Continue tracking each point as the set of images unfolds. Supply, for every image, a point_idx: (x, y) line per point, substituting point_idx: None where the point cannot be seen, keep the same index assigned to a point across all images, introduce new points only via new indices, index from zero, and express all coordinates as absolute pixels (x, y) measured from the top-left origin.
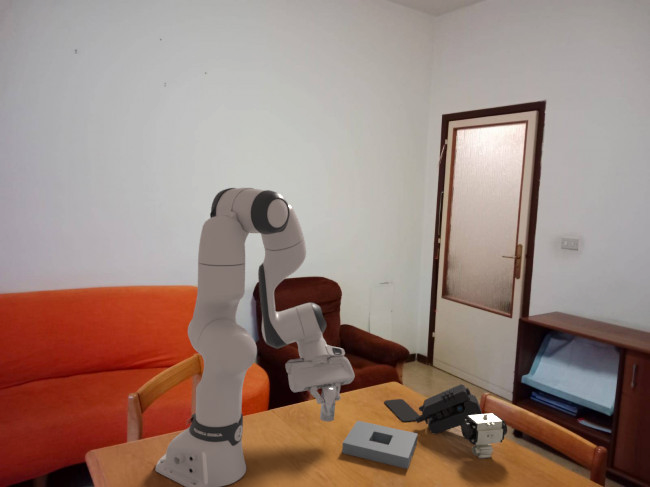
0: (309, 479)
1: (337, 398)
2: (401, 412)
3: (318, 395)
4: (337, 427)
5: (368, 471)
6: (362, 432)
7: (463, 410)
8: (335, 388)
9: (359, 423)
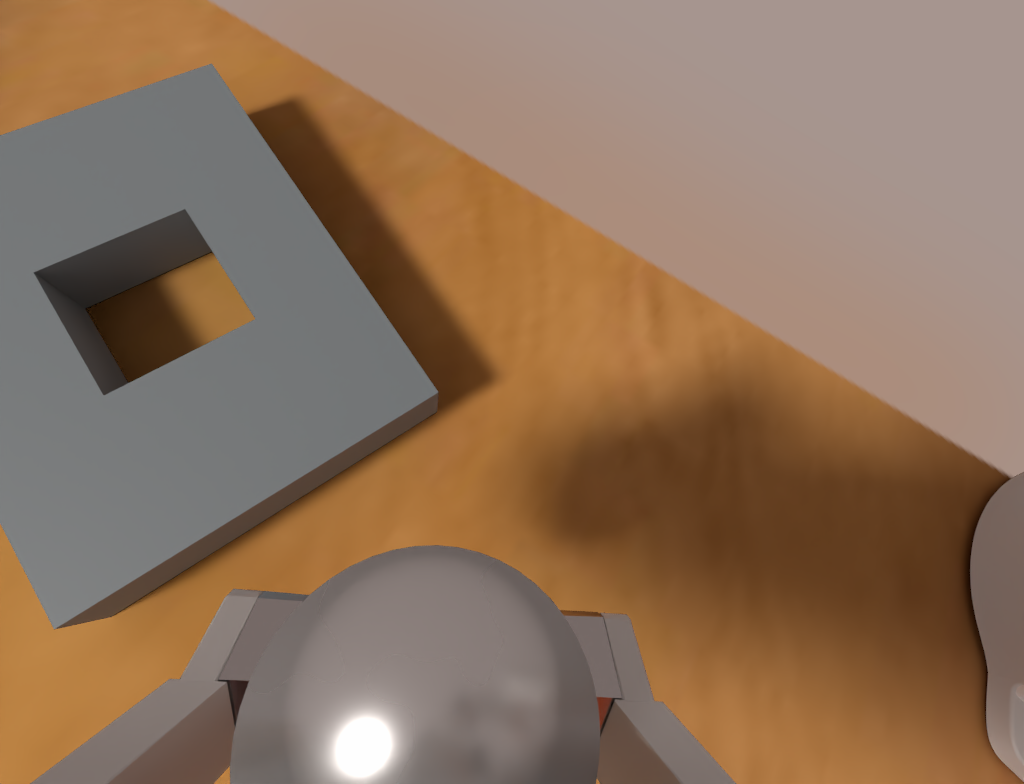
0: (715, 316)
1: (297, 594)
2: None
3: (651, 706)
4: None
5: (428, 211)
6: (201, 429)
7: None
8: (307, 626)
9: (90, 567)
